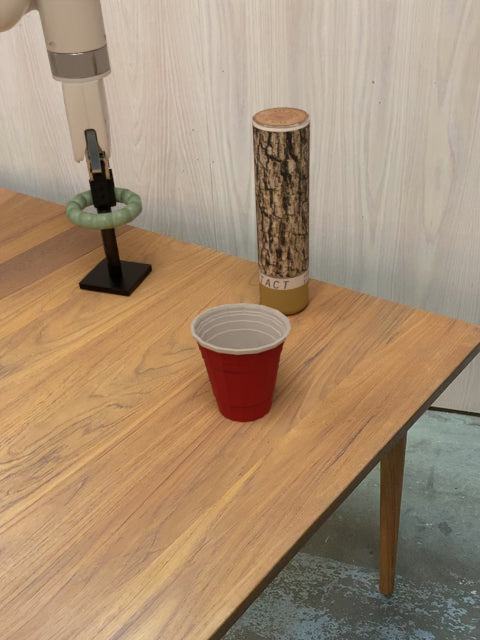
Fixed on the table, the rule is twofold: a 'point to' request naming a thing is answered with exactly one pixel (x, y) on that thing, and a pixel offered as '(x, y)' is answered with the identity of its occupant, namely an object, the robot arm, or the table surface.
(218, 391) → the plastic cup
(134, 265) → the ring stand
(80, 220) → the ring
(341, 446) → the table surface
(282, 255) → the paper tube
